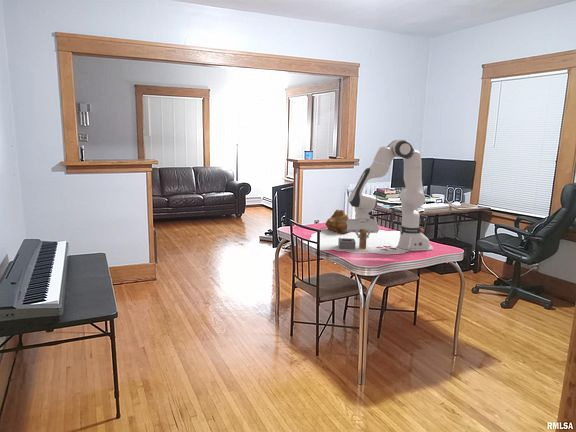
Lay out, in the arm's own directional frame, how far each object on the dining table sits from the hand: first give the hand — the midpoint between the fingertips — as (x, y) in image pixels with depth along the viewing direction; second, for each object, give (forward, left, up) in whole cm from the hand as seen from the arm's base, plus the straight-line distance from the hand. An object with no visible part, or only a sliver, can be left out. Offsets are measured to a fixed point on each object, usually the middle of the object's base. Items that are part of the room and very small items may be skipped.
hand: (363, 237), depth 273 cm
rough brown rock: (+13, -56, -9) cm, 58 cm away
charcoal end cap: (+10, -1, -7) cm, 12 cm away
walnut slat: (0, -1, -7) cm, 7 cm away
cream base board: (+5, -1, -9) cm, 10 cm away
